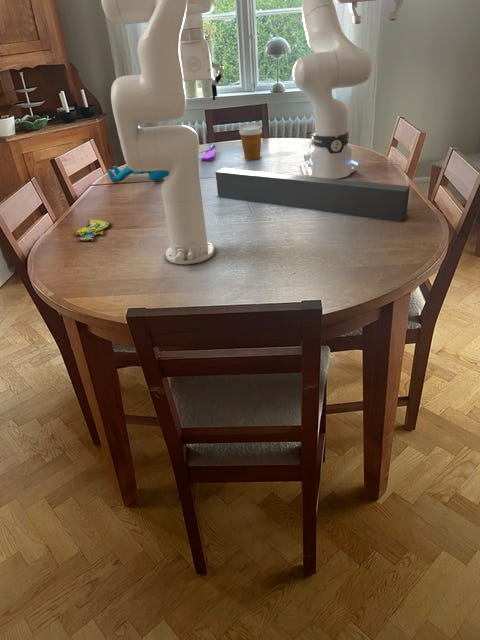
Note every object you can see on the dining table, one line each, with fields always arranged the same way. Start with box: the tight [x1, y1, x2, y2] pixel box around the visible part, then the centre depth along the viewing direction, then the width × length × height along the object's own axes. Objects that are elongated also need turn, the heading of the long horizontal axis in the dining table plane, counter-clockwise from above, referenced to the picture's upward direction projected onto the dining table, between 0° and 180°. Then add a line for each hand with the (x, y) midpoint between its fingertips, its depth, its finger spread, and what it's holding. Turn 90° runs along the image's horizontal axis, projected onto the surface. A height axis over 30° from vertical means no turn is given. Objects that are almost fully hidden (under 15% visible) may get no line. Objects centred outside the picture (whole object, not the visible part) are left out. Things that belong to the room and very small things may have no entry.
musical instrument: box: [199, 144, 216, 162], centre depth 208 cm, size 24×2×20 cm
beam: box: [215, 167, 411, 222], centre depth 146 cm, size 62×5×8 cm, turn 58°
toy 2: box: [107, 165, 169, 183], centre depth 182 cm, size 17×11×30 cm
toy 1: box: [74, 219, 111, 242], centre depth 143 cm, size 10×1×15 cm
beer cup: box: [238, 124, 263, 161], centre depth 196 cm, size 10×10×12 cm
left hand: (198, 100), depth 146 cm, fingers open, 9 cm apart
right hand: (374, 22), depth 122 cm, fingers open, 8 cm apart
